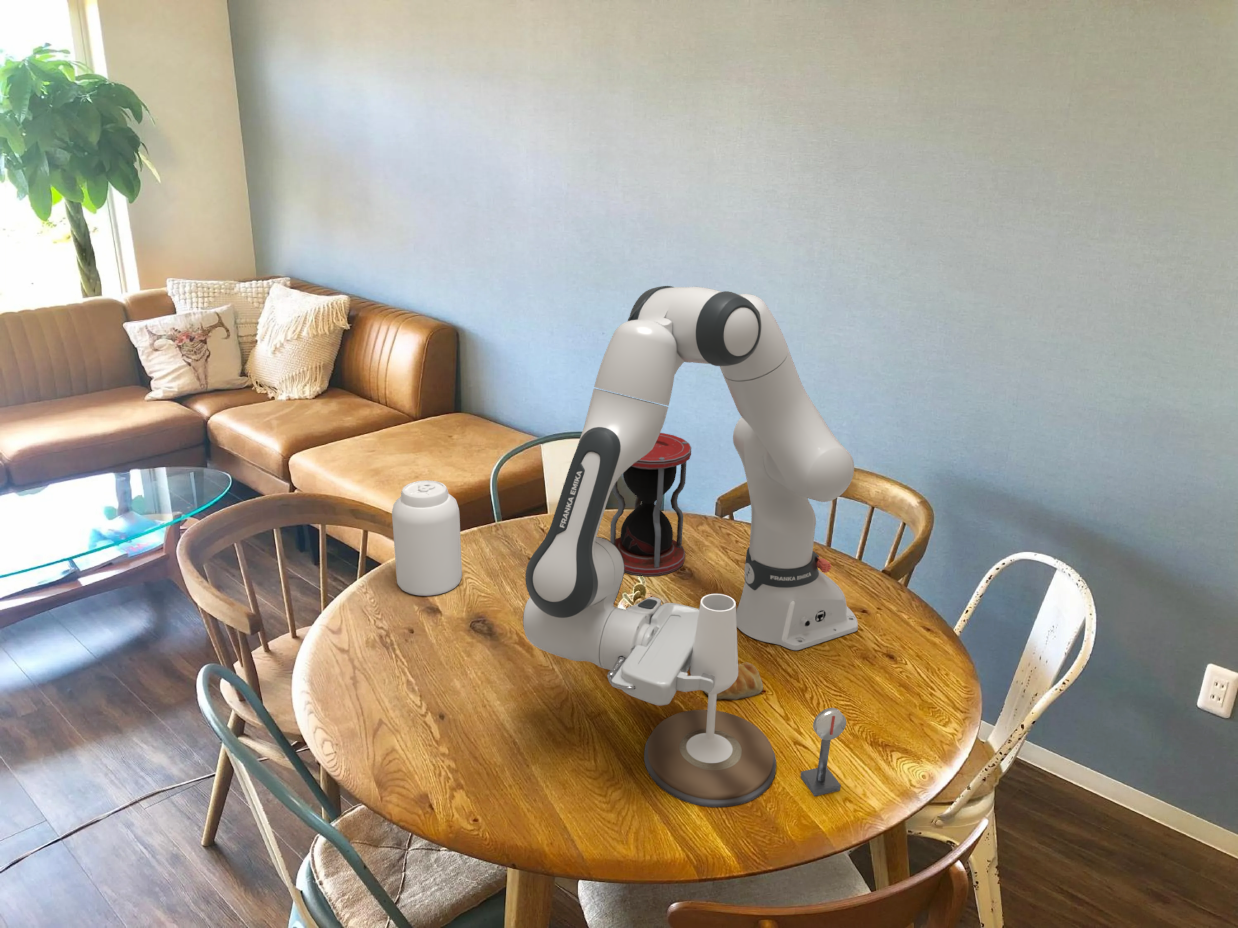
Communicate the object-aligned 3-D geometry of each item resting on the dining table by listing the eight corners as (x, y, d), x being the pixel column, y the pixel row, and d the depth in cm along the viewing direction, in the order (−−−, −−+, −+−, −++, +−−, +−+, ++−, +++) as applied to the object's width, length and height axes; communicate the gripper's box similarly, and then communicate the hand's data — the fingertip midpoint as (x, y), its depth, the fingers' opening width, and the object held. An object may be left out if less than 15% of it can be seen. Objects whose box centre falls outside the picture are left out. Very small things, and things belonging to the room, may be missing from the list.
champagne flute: (685, 761, 130) (692, 613, 121) (686, 731, 136) (693, 588, 127) (733, 764, 129) (744, 616, 121) (732, 734, 136) (742, 591, 127)
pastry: (716, 709, 145) (717, 688, 144) (694, 685, 151) (695, 666, 149) (766, 694, 149) (767, 674, 147) (743, 672, 154) (745, 652, 153)
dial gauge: (826, 771, 132) (836, 697, 127) (841, 790, 128) (852, 715, 124) (799, 777, 131) (808, 703, 126) (813, 796, 127) (823, 721, 122)
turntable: (741, 708, 145) (742, 698, 144) (799, 790, 128) (801, 779, 127) (626, 730, 139) (627, 719, 138) (672, 819, 122) (673, 807, 122)
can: (412, 562, 186) (406, 471, 178) (471, 570, 184) (468, 478, 176) (385, 592, 175) (378, 496, 167) (448, 601, 172) (443, 504, 165)
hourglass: (670, 536, 200) (676, 428, 190) (695, 572, 185) (703, 457, 176) (598, 544, 196) (600, 433, 186) (618, 580, 181) (622, 463, 172)
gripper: (602, 662, 121) (702, 688, 117) (654, 590, 139) (743, 610, 134) (601, 701, 124) (699, 728, 119) (653, 626, 142) (740, 647, 137)
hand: (723, 665), depth 127 cm, fingers open, 8 cm apart
